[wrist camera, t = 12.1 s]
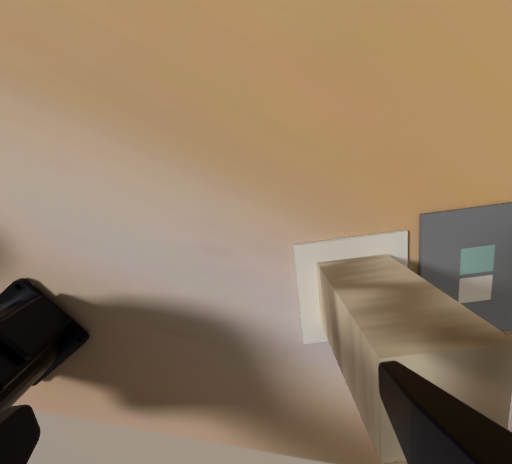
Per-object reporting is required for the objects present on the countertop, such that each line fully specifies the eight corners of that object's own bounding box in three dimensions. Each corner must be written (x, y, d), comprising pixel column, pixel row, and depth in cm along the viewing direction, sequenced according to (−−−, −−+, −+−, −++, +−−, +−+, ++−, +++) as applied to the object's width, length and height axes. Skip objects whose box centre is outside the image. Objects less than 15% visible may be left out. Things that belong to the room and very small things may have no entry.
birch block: (321, 324, 21) (381, 463, 11) (316, 262, 20) (379, 358, 10) (387, 316, 21) (504, 449, 11) (386, 253, 20) (517, 342, 10)
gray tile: (417, 338, 22) (420, 341, 22) (419, 214, 19) (422, 214, 19) (559, 321, 22) (563, 323, 21) (578, 193, 19) (584, 193, 19)
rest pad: (302, 341, 22) (303, 344, 21) (292, 244, 20) (293, 245, 19) (405, 329, 22) (407, 331, 21) (405, 229, 20) (407, 230, 19)
